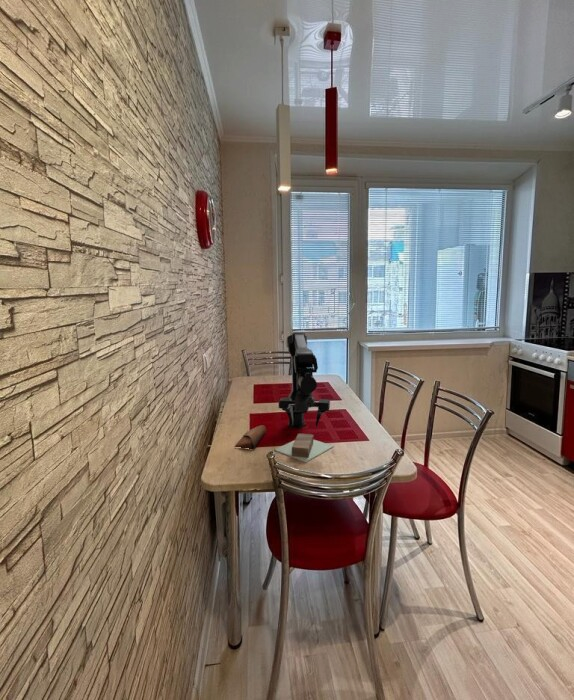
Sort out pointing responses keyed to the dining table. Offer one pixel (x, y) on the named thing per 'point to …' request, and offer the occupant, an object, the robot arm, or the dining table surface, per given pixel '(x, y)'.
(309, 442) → the brown wooden block
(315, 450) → the mat
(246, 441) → the sunglasses case
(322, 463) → the dining table surface
